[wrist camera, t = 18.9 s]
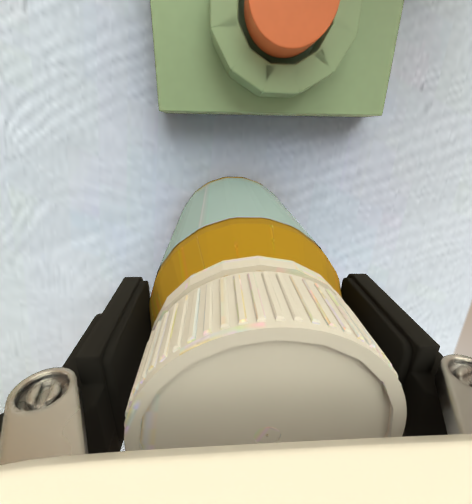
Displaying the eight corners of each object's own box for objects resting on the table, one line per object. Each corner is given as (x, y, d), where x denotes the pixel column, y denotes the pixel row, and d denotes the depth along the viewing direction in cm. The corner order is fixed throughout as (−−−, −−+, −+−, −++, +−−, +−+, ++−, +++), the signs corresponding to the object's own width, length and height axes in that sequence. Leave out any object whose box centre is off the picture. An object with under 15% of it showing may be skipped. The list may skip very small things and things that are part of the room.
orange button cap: (242, 57, 13) (246, 47, 12) (244, -48, 12) (249, -76, 10) (320, 59, 13) (334, 50, 12) (331, -43, 12) (349, -70, 10)
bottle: (246, 152, 18) (339, 225, 4) (300, 237, 21) (469, 454, 7) (159, 215, 19) (22, 426, 6) (221, 288, 22) (229, 559, 8)
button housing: (165, 113, 17) (151, 108, 13) (152, -71, 14) (129, -143, 10) (363, 117, 18) (401, 113, 14) (393, -57, 15) (451, -119, 11)
